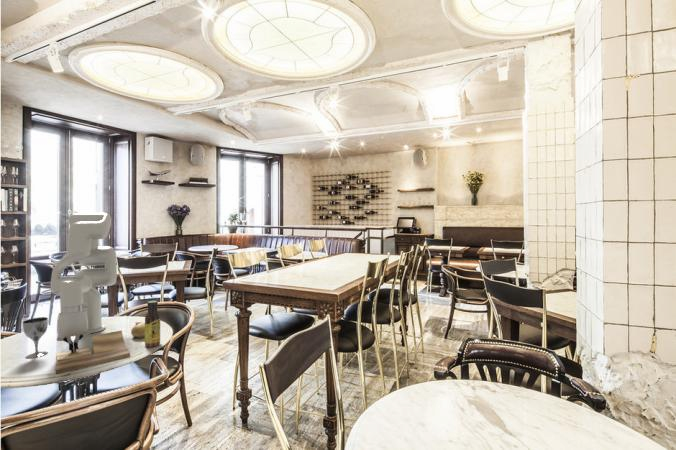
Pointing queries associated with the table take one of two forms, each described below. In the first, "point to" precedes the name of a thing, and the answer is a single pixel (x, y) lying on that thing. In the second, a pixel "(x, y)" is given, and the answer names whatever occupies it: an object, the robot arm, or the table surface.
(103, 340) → the oak plank
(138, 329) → the onion
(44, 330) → the wine glass
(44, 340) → the table surface
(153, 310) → the sauce bottle
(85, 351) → the oak plank
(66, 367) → the walnut board
